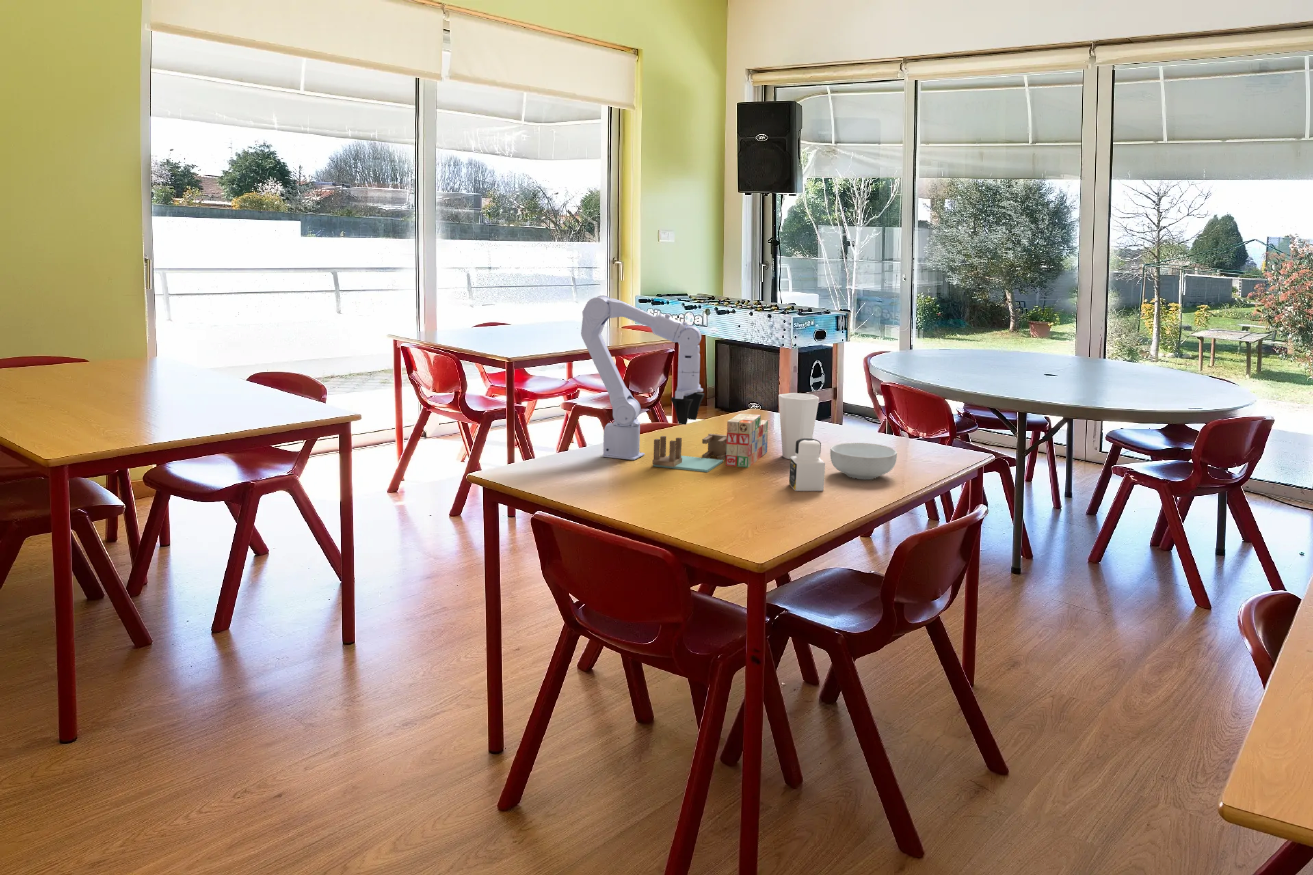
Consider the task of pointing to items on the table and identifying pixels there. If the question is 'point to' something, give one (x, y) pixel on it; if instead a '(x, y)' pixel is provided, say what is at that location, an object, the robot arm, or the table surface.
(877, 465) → the cereal bowl
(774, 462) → the table surface
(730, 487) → the table surface
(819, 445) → the medicine bottle
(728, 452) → the stack of blocks
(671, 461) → the upturned stool
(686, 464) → the mat
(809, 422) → the cup
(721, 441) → the toppled stool
